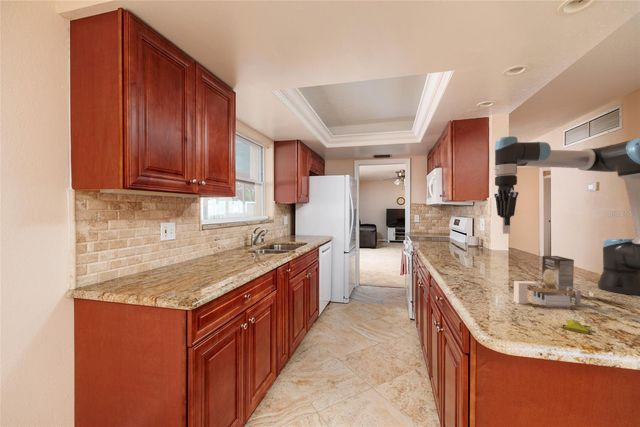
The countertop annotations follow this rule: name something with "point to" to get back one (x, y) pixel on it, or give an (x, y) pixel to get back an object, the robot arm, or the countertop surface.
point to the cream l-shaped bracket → (522, 291)
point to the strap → (551, 290)
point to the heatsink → (551, 299)
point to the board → (578, 303)
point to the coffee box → (557, 273)
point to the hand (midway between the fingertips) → (505, 233)
